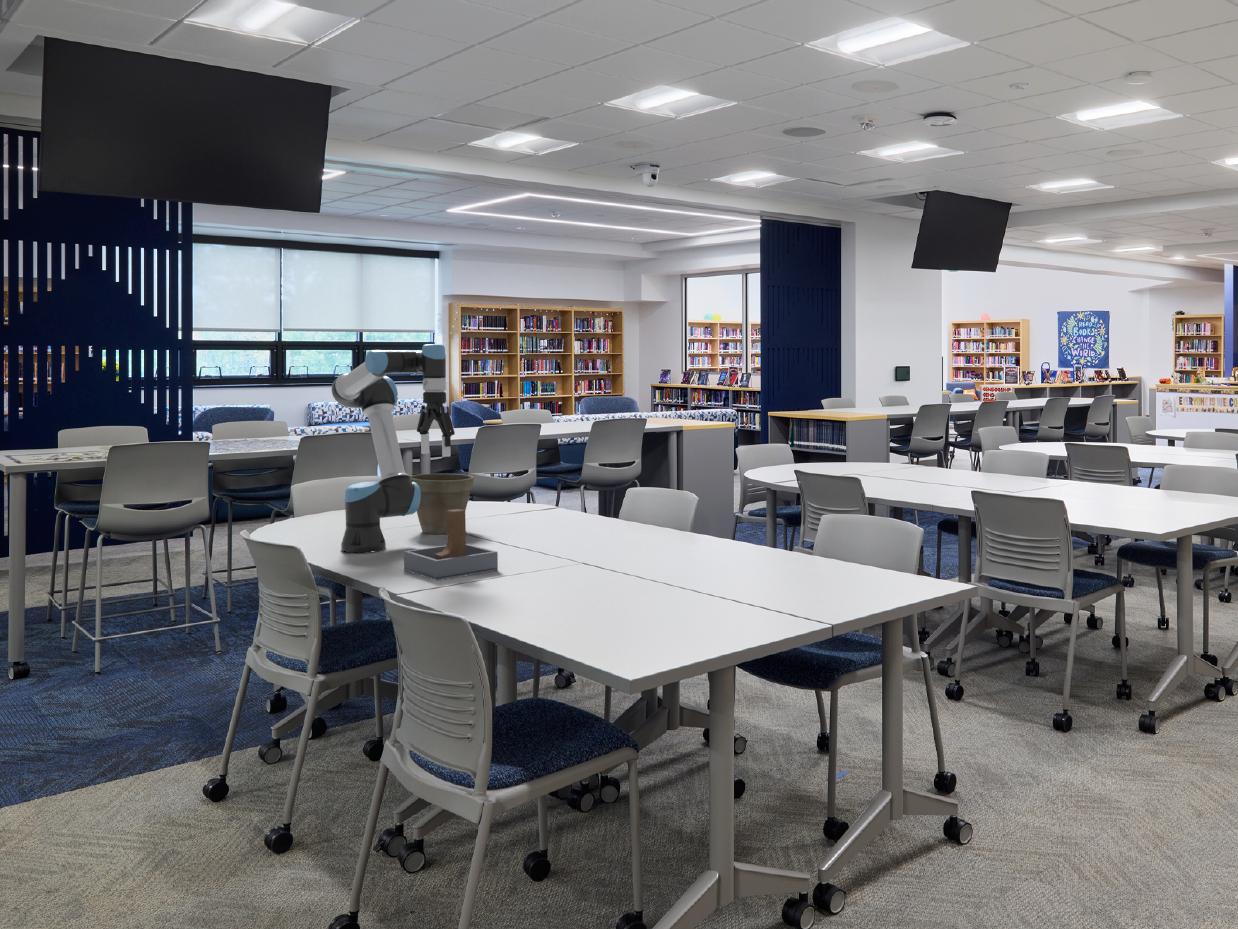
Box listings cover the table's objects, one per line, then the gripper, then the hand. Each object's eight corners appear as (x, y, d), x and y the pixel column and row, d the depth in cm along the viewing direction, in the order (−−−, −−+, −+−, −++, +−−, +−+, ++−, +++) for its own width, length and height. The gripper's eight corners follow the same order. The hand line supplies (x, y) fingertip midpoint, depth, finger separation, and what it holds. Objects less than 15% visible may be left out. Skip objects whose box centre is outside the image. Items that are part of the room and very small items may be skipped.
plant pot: (482, 527, 383) (482, 473, 381) (461, 538, 359) (460, 480, 357) (424, 525, 388) (423, 472, 385) (399, 535, 364) (397, 479, 361)
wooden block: (441, 570, 298) (440, 513, 296) (434, 567, 301) (433, 511, 299) (466, 566, 303) (465, 510, 301) (459, 564, 307) (458, 508, 305)
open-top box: (404, 570, 303) (403, 551, 302) (463, 560, 317) (463, 542, 317) (436, 580, 288) (436, 561, 287) (497, 570, 302) (497, 551, 302)
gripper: (405, 390, 323) (407, 453, 325) (444, 392, 304) (445, 458, 307) (425, 390, 328) (426, 451, 330) (464, 391, 309) (465, 457, 312)
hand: (435, 455), depth 318 cm, fingers open, 13 cm apart
